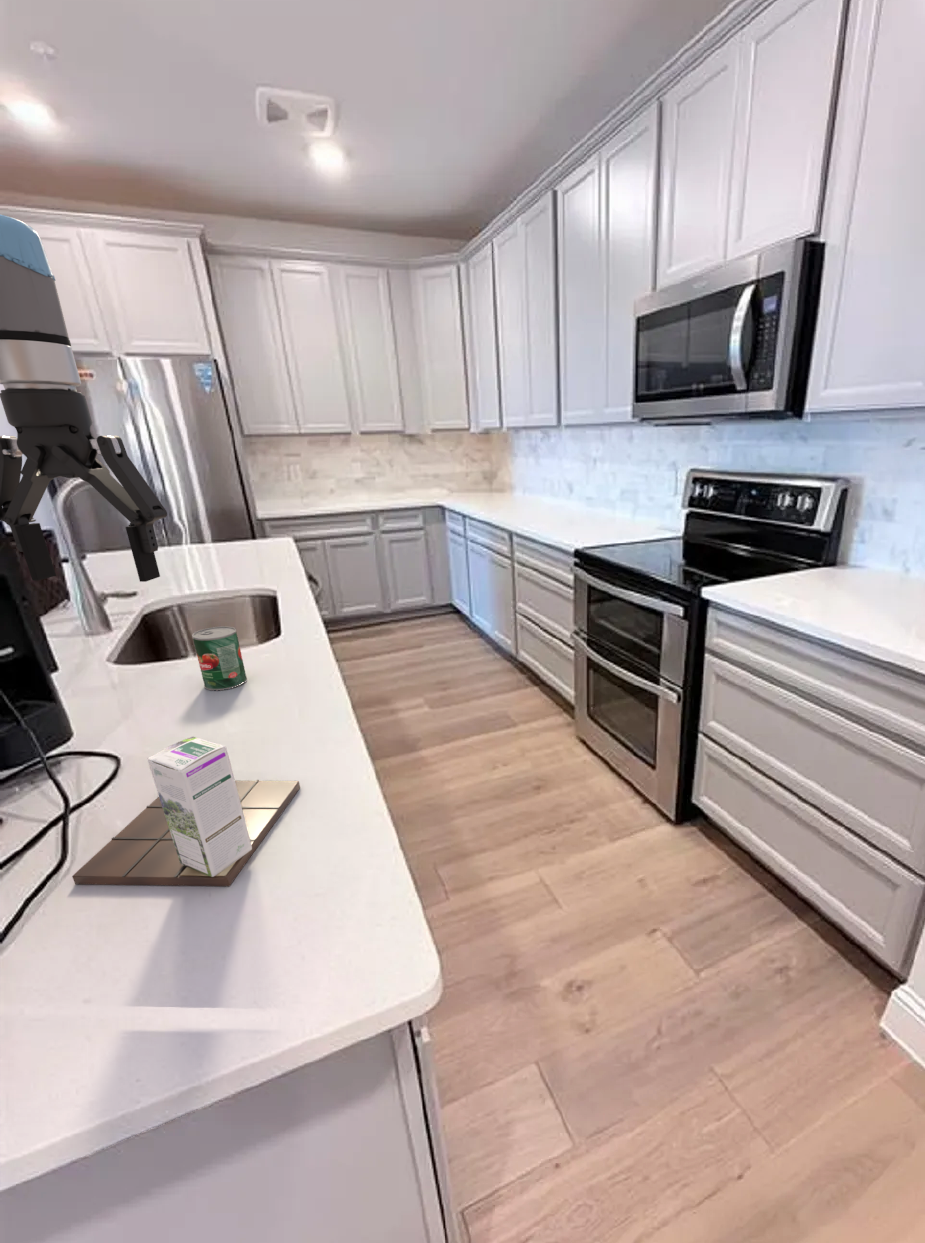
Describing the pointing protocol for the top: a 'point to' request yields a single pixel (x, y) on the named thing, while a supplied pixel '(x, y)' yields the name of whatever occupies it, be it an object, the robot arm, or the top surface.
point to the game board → (151, 851)
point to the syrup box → (201, 804)
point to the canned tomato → (219, 657)
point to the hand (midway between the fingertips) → (97, 578)
